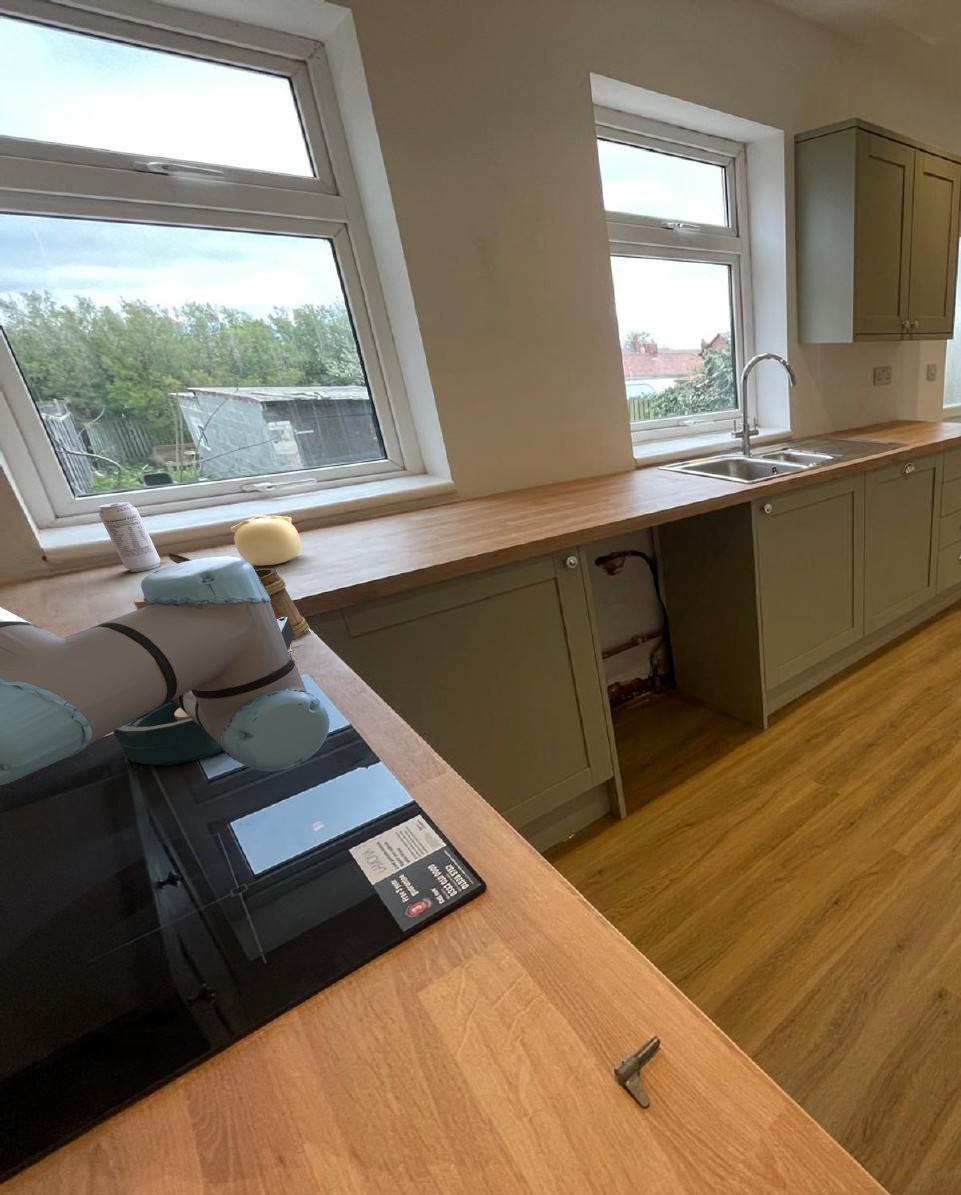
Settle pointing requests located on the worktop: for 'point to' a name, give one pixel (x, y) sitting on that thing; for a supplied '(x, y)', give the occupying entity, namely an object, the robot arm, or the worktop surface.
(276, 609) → the wooden mug
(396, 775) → the worktop surface
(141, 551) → the energy drink can
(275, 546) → the yellow persimmon
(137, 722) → the bowl
